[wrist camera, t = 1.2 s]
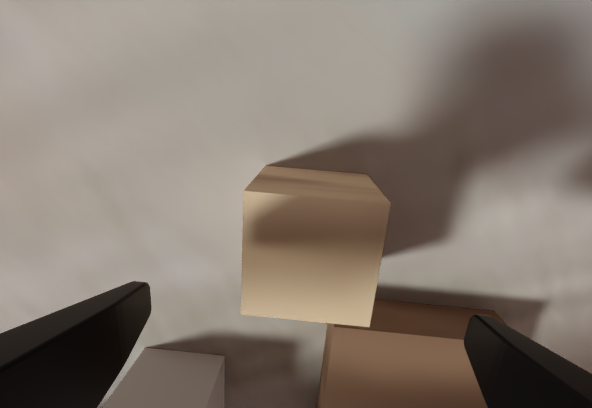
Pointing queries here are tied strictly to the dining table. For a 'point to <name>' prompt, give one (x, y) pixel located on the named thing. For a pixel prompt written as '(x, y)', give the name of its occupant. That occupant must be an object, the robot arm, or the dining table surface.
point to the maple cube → (312, 245)
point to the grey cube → (172, 381)
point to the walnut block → (401, 359)
